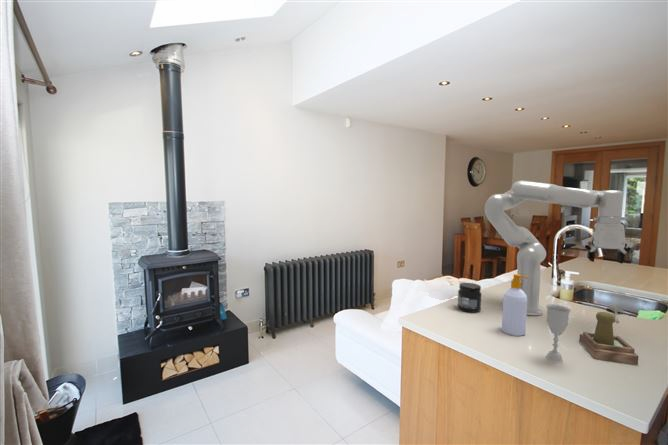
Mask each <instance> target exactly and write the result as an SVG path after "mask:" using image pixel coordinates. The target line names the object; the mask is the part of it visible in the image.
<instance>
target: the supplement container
mask: <svg viewBox="0 0 668 445" xmlns="http://www.w3.org/2000/svg"><path fill="white" fill-rule="evenodd" d="M458 288H459V289H458V291H457V293H458V294H457V308H458V309H459V310H461V311H462V312H465V313H471V314H473V313H474V314H475V313H479V312H480V311H481V309H482V292H481V291H482V288H481V285H479V284H477V283H473V282H461V283H459V286H458Z"/></svg>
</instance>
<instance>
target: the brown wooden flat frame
mask: <svg viewBox="0 0 668 445" xmlns="http://www.w3.org/2000/svg"><path fill="white" fill-rule="evenodd" d="M594 333H595V332H588V331H583V332H582V333H579V339H578V341H579V343H580V344H581V345H582V346H583V347H584V348H585V350H586V351H587V352H588V353H589V354H590V356H591V357H592V358H593V359H595V360H603V361H608V362H615V363H623V364H628V365H629V364H630V365H639V354H637V353H636V352H635V348H634V347H632V345H630V344H629V343H628V342H627V341H626V340H624V339H623V338H622V337H620V336H619V335H614V334H613V337H614V346H613V345H605V344H597V343H596V341H595V340H594V339H593V337H594Z"/></svg>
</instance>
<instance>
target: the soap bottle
mask: <svg viewBox="0 0 668 445" xmlns="http://www.w3.org/2000/svg"><path fill="white" fill-rule="evenodd" d="M512 275H513V278H512V280H511V282H510V288H508V289H507V290H505V291H504V293H503V298H502V302H503V303H502V318H501V331H502V332H503V333H505V334H508V335H511V336H515V337H516V336H517V337H521V336H524V335H526V330H527V329H526V327H527V316H528V315H527V296H526V294H525V293H524V291H522V290H521V282H520V280H519V278H527V279H529V277H526V276H521V275H519V274H517V273H513V274H512Z"/></svg>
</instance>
